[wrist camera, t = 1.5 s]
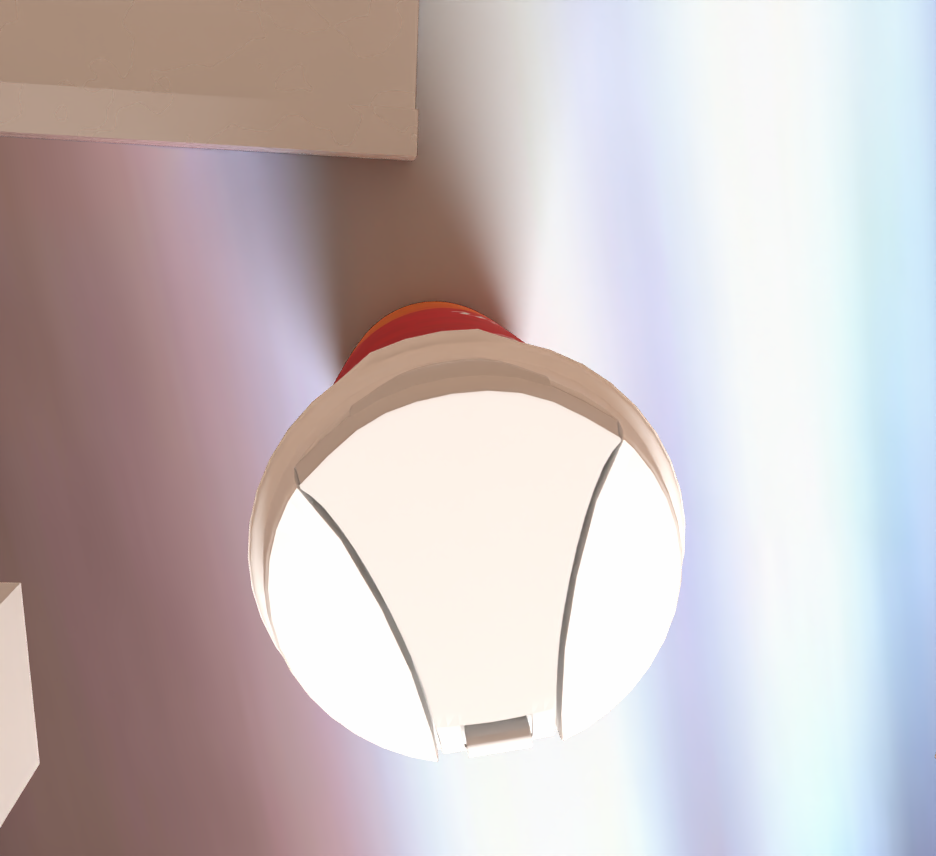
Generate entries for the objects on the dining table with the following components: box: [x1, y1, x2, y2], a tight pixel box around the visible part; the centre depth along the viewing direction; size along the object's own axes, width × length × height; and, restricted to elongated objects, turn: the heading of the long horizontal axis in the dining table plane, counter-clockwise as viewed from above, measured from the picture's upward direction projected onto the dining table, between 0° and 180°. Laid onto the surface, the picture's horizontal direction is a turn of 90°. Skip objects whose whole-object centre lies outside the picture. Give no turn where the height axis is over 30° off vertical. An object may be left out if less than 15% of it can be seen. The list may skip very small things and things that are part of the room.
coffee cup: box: [248, 301, 685, 762], centre depth 21 cm, size 8×8×15 cm
